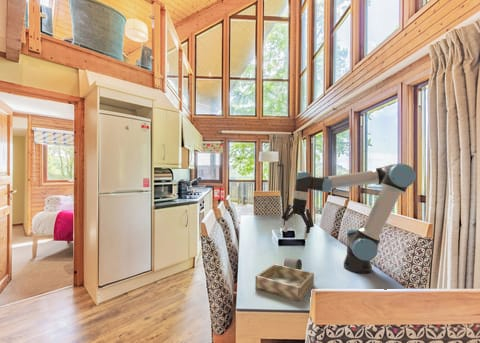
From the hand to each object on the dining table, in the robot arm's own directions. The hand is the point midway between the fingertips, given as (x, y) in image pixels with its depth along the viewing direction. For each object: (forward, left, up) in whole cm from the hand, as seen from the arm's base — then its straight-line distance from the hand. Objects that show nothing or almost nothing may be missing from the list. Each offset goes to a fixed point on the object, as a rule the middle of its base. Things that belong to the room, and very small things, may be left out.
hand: (295, 235), depth 144 cm
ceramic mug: (0, +4, -20) cm, 21 cm away
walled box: (-4, +23, -20) cm, 31 cm away
